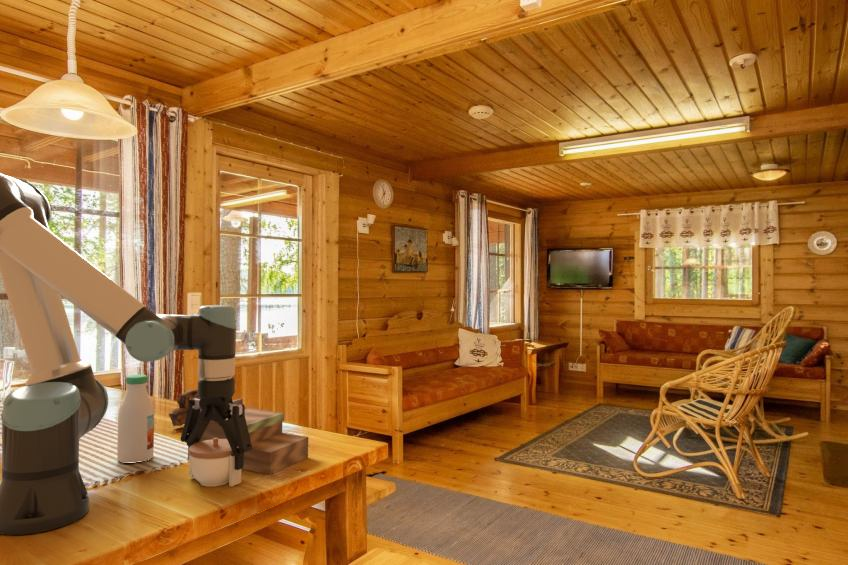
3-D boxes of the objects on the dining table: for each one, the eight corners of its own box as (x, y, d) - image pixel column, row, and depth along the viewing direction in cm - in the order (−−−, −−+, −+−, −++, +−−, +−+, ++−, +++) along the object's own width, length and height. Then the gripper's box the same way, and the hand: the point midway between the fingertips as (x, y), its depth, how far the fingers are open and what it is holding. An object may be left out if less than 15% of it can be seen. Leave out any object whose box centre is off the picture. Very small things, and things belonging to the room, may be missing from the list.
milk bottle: (138, 466, 133) (140, 379, 133) (109, 463, 135) (110, 377, 134) (160, 456, 141) (161, 373, 140) (132, 453, 142) (133, 372, 142)
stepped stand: (270, 474, 129) (271, 421, 129) (197, 459, 139) (198, 409, 138) (308, 457, 142) (309, 408, 142) (239, 444, 151) (239, 398, 151)
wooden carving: (180, 432, 162) (181, 396, 162) (167, 430, 163) (167, 395, 163) (218, 418, 177) (219, 385, 177) (206, 416, 179) (206, 384, 179)
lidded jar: (251, 480, 126) (252, 437, 126) (208, 495, 117) (209, 449, 117) (220, 469, 132) (221, 428, 132) (177, 483, 123) (178, 439, 123)
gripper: (271, 379, 123) (269, 483, 123) (190, 369, 132) (189, 465, 133) (246, 385, 116) (244, 495, 116) (163, 374, 126) (162, 475, 126)
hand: (214, 479), depth 124 cm, fingers closed on lidded jar, 11 cm apart
